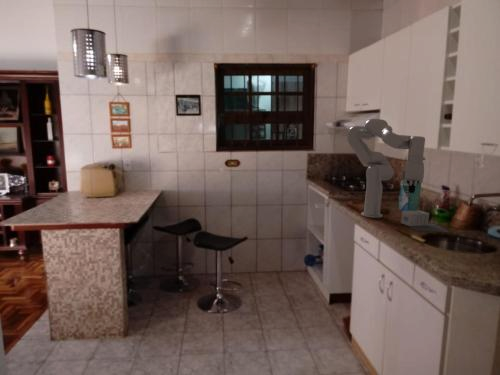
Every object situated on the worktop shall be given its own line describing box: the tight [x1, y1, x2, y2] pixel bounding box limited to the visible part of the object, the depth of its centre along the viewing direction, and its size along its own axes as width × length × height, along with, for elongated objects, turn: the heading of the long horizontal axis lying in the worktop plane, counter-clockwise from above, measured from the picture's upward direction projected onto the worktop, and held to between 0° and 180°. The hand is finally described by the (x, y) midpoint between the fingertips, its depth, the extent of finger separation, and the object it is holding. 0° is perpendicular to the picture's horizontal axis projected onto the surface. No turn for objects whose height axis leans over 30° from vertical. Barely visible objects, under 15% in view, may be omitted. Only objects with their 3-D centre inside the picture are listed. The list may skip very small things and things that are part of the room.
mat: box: [408, 222, 450, 234], centre depth 202 cm, size 18×18×1 cm
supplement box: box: [400, 210, 430, 227], centre depth 205 cm, size 7×7×13 cm
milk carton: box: [397, 172, 422, 211], centre depth 246 cm, size 9×9×25 cm
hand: (411, 192), depth 199 cm, fingers closed
